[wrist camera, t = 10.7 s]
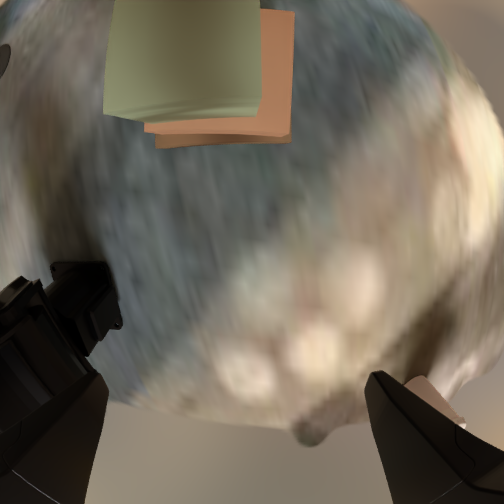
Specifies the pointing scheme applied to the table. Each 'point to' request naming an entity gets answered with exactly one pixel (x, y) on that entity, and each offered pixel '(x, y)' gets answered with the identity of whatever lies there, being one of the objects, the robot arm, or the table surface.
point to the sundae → (4, 58)
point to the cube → (183, 60)
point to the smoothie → (433, 398)
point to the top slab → (273, 87)
